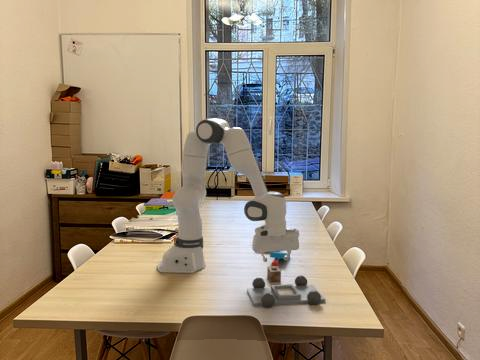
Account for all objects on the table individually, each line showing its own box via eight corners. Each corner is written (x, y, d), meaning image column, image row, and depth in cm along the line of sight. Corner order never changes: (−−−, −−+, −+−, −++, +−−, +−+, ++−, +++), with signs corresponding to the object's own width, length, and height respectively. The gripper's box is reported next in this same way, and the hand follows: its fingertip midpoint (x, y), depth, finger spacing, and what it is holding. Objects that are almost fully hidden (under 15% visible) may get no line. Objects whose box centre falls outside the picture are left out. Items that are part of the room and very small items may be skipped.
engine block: (270, 282, 181) (270, 269, 180) (267, 277, 187) (267, 265, 186) (280, 282, 182) (281, 269, 181) (277, 277, 188) (277, 264, 187)
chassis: (254, 308, 156) (255, 295, 155) (246, 289, 173) (246, 278, 172) (327, 303, 161) (327, 291, 160) (311, 286, 178) (312, 274, 177)
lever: (275, 265, 216) (267, 267, 199) (277, 251, 217) (268, 252, 200) (289, 267, 214) (281, 269, 197) (290, 253, 215) (282, 253, 198)
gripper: (296, 226, 186) (296, 256, 188) (251, 229, 183) (251, 259, 185) (301, 230, 180) (301, 261, 182) (254, 232, 176) (254, 264, 178)
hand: (275, 260), depth 183 cm, fingers open, 8 cm apart
